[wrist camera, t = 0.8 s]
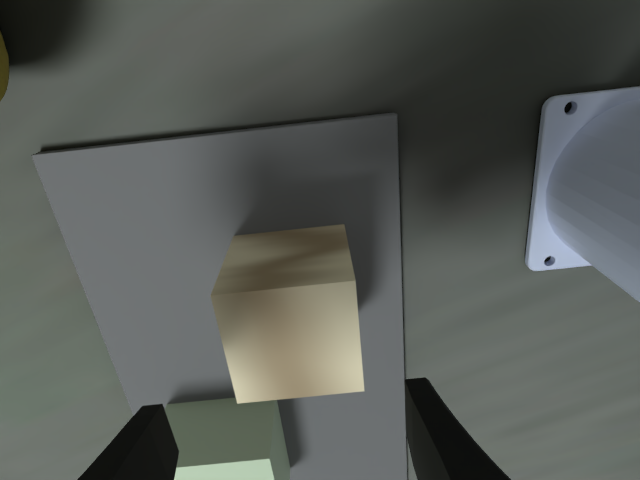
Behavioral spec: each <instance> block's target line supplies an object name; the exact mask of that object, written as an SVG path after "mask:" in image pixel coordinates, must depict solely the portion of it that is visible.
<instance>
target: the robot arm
mask: <svg viewBox="0 0 640 480" xmlns="http://www.w3.org/2000/svg"><path fill="white" fill-rule="evenodd" d="M568 102H571V103H572V107H571V110H570V111H569V112H567V113H565V112H564V108H565V105H566V104H567V103H568ZM549 256H551V258H550V260H549V261H547V262H544V260H545V259H546V258H547V257H549ZM525 264H526V265H527V266H528V267H529V268H530V269H531V270H533V271H542V270H552V269H562V268H571V267H581V266H591V265H592V266H594V267H595V268H596V269H598V270H599V271H600V272H601V273H603V274H604V275H605V276H606V277H608V278H609V279H610V280H612V281H613V282H614V283H615V284H617V285H618V286H619V287H621V288H622V289H623V290H624V291H626V292H627V293H628V294H630V295H631V296H632V297H633V298H635V299H636V300H637V301H639V302H640V86H638V87H629V88H620V89H611V90H602V91H593V92H584V93H575V94H566V95H557V96H553V97H550V98H549V99H547V100H546V101H545V103H544V104H543V107H542V111H541V120H540V129H539V138H538V147H537V156H536V165H535V174H534V183H533V192H532V201H531V210H530V219H529V228H528V237H527V246H526V255H525ZM404 385H405V422H406V433H407V438H408V443H409V448H410V453H411V457H412V462H413V466H414V469H415V472H416V476H417V479H418V480H511V479H510V478H509V477H508V476H507V475H506V474H505V473H504V472H503V471H502V470H501V469H500V468H499V467H498V466H497V465H496V464H495V463H494V462H493V461H492V460H491V458H490V457H489V456H488V455H487V454H486V453H485V452H484V451H483V450H482V449H481V448H480V446H479V445H478V444H477V443H476V442H475V441H474V440H473V438H472V437H471V436H470V435H469V434H468V432H467V431H466V430H465V429H464V428H463V426H462V425H461V424H460V423H459V422H458V420H457V419H456V418H455V416H454V415H453V414H452V413H451V411H450V410H449V409H448V407H447V406H446V405H445V403H444V402H443V401H442V399H441V398H440V396H439V395H438V394H437V392H436V391H435V389H434V388H433V386H432V385H431V383H430V381H429V380H428V379H426V378H415V379H405V380H404ZM178 456H179V449H178V447H177V444H176V441H175V438H174V435H173V432H172V429H171V427H170V424H169V421H168V418H167V415H166V412H165V409H164V406H163V404H155V405H145V406H142V407H141V408H140V409H139V410H138V411H137V412H136V414H135V415H134V416H133V417H132V418H131V419H130V421H129V422H128V423H127V424H126V425H125V426H124V428H123V429H122V430H121V431H120V432H119V433H118V435H117V436H116V437H115V438H114V439H113V440H112V441H111V443H110V444H109V445H108V446H107V447H106V448H105V450H104V451H103V452H102V453H101V454H100V455H99V456H98V457H97V459H96V460H95V461H94V462H93V463H92V464H91V465H90V466H89V468H88V469H87V470H86V471H85V472H84V473H83V474H82V475H81V476H80V477H79V478H78V479H77V480H174V477H175V472H176V467H177V462H178Z"/></svg>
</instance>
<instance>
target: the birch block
mask: <svg viewBox="0 0 640 480" xmlns="http://www.w3.org/2000/svg"><path fill="white" fill-rule="evenodd" d="M210 296H211V300H212V304H213V308H214V312H215V316H216V320H217V324H218V328H219V332H220V336H221V340H222V344H223V348H224V352H225V356H226V360H227V364H228V368H229V372H230V376H231V380H232V384H233V388H234V392H235V396H236V400H237V404H239V403H249V402H260V401H270V400H280V399H290V398H300V397H311V396H321V395H331V394H341V393H352V392H362V391H364V380H363V367H362V355H361V342H360V330H359V317H358V305H357V292H356V280H355V275H354V270H353V265H352V260H351V255H350V250H349V245H348V240H347V235H346V230H345V225H344V224H341V225H331V226H322V227H312V228H303V229H293V230H284V231H275V232H265V233H256V234H246V235H237V236H233V239H232V241H231V244H230V246H229V249H228V251H227V254H226V257H225V259H224V262H223V264H222V267H221V269H220V272H219V275H218V277H217V280H216V282H215V285H214V287H213V290H212V293H211V295H210Z"/></svg>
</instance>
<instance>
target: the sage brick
mask: <svg viewBox="0 0 640 480" xmlns="http://www.w3.org/2000/svg"><path fill="white" fill-rule="evenodd" d="M165 412H166V415H167V418H168V421H169V424H170V427H171V429H172V432H173V435H174V438H175V441H176V444H177V447H178V449H179V456H178V462H177V467H176V472H175V477H174V480H290V464H289V459H288V454H287V449H286V444H285V438H284V433H283V428H282V423H281V418H280V413H279V408H278V403H277V400H270V401H260V402H249V403H239V404H237V400H236V398H226V399H215V400H205V401H195V402H185V403H175V404H166V407H165Z"/></svg>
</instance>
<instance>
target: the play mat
mask: <svg viewBox="0 0 640 480" xmlns="http://www.w3.org/2000/svg"><path fill="white" fill-rule="evenodd" d="M31 156H32V159H33V161H34V164H35V167H36V169H37V172H38V174H39V177H40V179H41V182H42V184H43V187H44V189H45V192H46V194H47V197H48V200H49V202H50V205H51V207H52V210H53V212H54V215H55V217H56V220H57V222H58V225H59V228H60V230H61V233H62V235H63V238H64V240H65V243H66V245H67V248H68V250H69V253H70V255H71V258H72V261H73V263H74V266H75V268H76V271H77V273H78V276H79V278H80V281H81V283H82V286H83V289H84V291H85V294H86V296H87V299H88V301H89V304H90V306H91V309H92V311H93V314H94V316H95V319H96V322H97V324H98V327H99V329H100V332H101V334H102V337H103V339H104V342H105V344H106V347H107V349H108V352H109V355H110V357H111V360H112V362H113V365H114V367H115V370H116V372H117V375H118V377H119V380H120V383H121V385H122V388H123V390H124V393H125V395H126V398H127V400H128V403H129V405H130V408H131V410H132V413H133V416H134V415H135V414H136V412H137V411H138V410H139V409H140V408H141V407H142V406H145V405H155V404H163V406H164V409H165V407H166V404H175V403H185V402H195V401H205V400H215V399H226V398H236V396H235V392H234V388H233V384H232V380H231V376H230V372H229V368H228V364H227V360H226V356H225V352H224V348H223V344H222V340H221V336H220V332H219V328H218V324H217V320H216V316H215V312H214V308H213V304H212V300H211V296H210V295H211V293H212V290H213V287H214V285H215V282H216V280H217V277H218V275H219V272H220V269H221V267H222V264H223V262H224V259H225V257H226V254H227V251H228V249H229V246H230V244H231V241H232V239H233V236H237V235H246V234H256V233H265V232H275V231H284V230H293V229H303V228H312V227H322V226H331V225H341V224H344V225H345V230H346V235H347V240H348V245H349V250H350V255H351V260H352V265H353V270H354V275H355V280H356V292H357V305H358V317H359V330H360V342H361V355H362V367H363V380H364V391H362V392H352V393H341V394H331V395H321V396H311V397H300V398H290V399H280V400H277V403H278V408H279V413H280V418H281V423H282V428H283V433H284V438H285V444H286V449H287V454H288V459H289V464H290V480H407V455H406V422H405V385H404V345H403V308H402V271H401V234H400V197H399V160H398V124H397V114H396V113H386V114H377V115H368V116H359V117H350V118H341V119H332V120H323V121H314V122H305V123H296V124H287V125H278V126H269V127H260V128H251V129H242V130H233V131H224V132H215V133H206V134H197V135H188V136H179V137H170V138H161V139H152V140H143V141H134V142H125V143H116V144H107V145H98V146H89V147H80V148H71V149H62V150H53V151H44V152H38V153H36V154H33V155H31Z"/></svg>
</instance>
